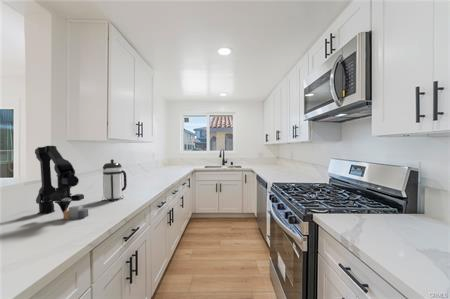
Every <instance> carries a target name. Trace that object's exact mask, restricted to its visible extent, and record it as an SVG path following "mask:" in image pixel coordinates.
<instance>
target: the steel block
mask: <svg viewBox="0 0 450 299" xmlns="http://www.w3.org/2000/svg"><path fill="white" fill-rule="evenodd" d="M68 209H69V220H70V219H71V220H72V219H78V211H79V210H81V209H83V205H72V206H68Z"/></svg>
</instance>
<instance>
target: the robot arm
mask: <svg viewBox="0 0 450 299" xmlns="http://www.w3.org/2000/svg"><path fill="white" fill-rule="evenodd" d="M34 154H35V156H36V159H37V160H38V161H39V163H40V178H41V187H40V188H39V190H38V194H37V196H36V198H35V203H36V204H38V212H37V215H39V214H40V215H42V214H45V215H46V214H51V213H53V212H55V211H56V209H55V204H57V205H58V206H59V208H60V209H61V212H62V213H63V212H64V211H66V210H68V209H69V207H70V205H71V203H72V202H79V201H82V200H84V199H85V195H84V194H83V193H76V194H74V195H73V194H72V193H71V189H72V187H76V186H77V185H79V183H80V179H79V178H78V177H77V176H76V170H75V169H74V166H73V164H72V163H71V162H70V161H69V160H67V159H64V157H63V156H62V154H61V153H60V152H59V151H58V147H57V146H55V145H45V146H38V147H36V148H35V150H34ZM51 161H52V162H53V164H54V166H53V168H54V171H55V173H56V177H57V187H54V185H53V184H52V173H51ZM54 203H55V204H54Z"/></svg>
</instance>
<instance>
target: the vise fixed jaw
mask: <svg viewBox="0 0 450 299" xmlns="http://www.w3.org/2000/svg"><path fill="white" fill-rule="evenodd" d="M88 216H89V208H82V209H81V210H79V211H78V218H77V219H85V218H87V217H88Z"/></svg>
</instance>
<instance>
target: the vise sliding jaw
mask: <svg viewBox="0 0 450 299" xmlns="http://www.w3.org/2000/svg"><path fill="white" fill-rule="evenodd" d="M62 214H63V220H68V219H69V208H67V210H66V211H64V212H62ZM69 220H70V219H69Z"/></svg>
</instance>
